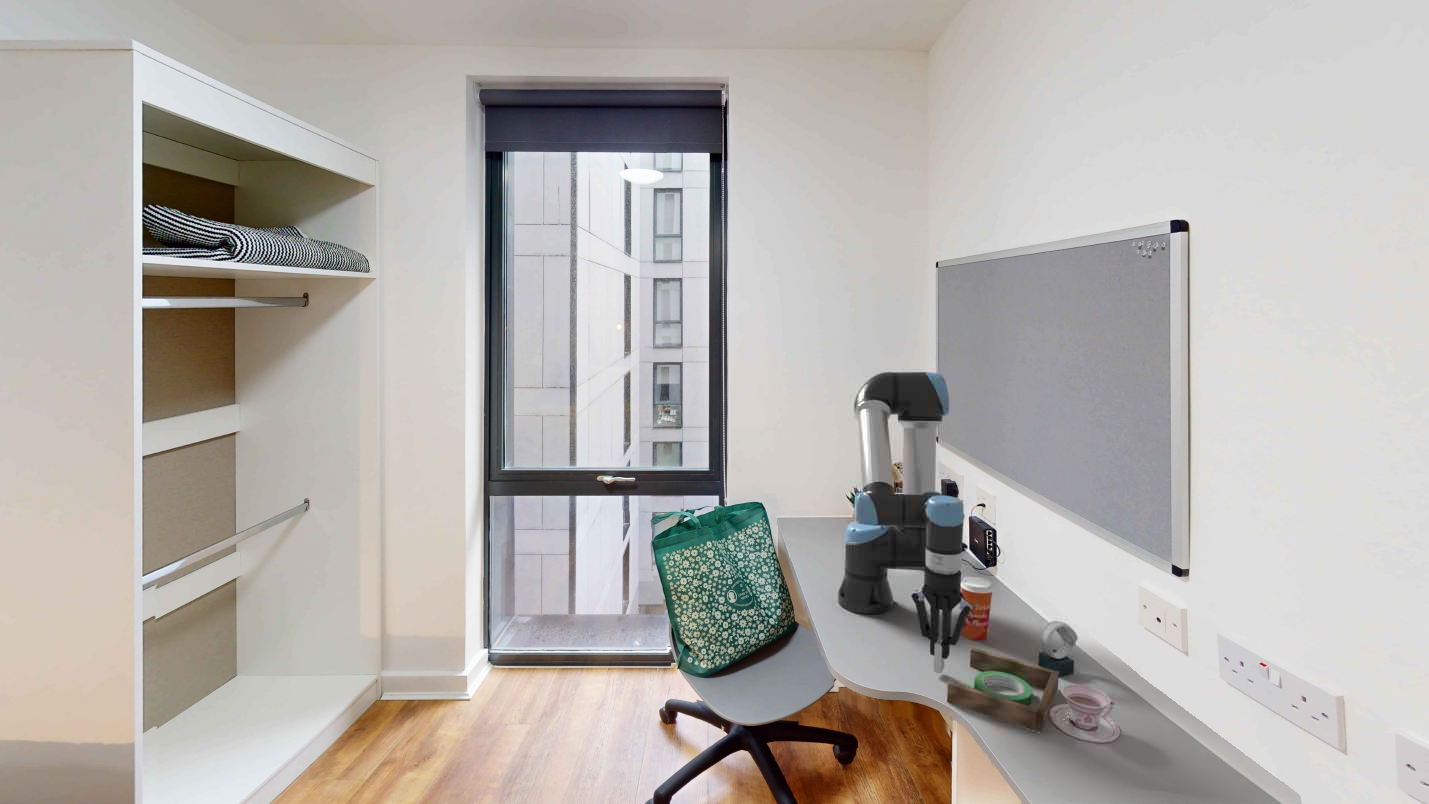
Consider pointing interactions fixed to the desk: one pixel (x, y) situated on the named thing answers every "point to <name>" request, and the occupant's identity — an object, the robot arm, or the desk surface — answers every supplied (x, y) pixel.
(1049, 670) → the u-shaped wooden frame
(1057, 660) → the watch
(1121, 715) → the desk surface
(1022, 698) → the tape roll
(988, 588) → the paper cup
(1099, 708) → the teacup
